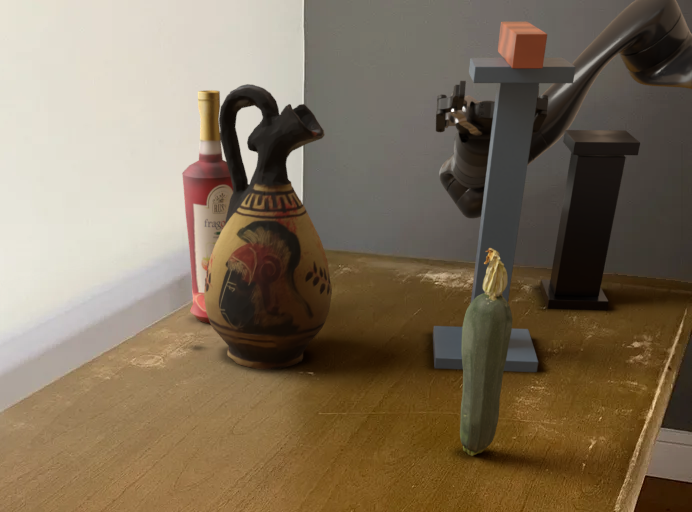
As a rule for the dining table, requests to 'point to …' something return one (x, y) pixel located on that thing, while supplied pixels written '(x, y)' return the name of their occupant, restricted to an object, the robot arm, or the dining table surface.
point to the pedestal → (587, 218)
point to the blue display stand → (503, 192)
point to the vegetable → (484, 358)
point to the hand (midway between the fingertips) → (496, 88)
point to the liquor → (206, 197)
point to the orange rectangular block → (522, 45)
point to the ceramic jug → (267, 242)
